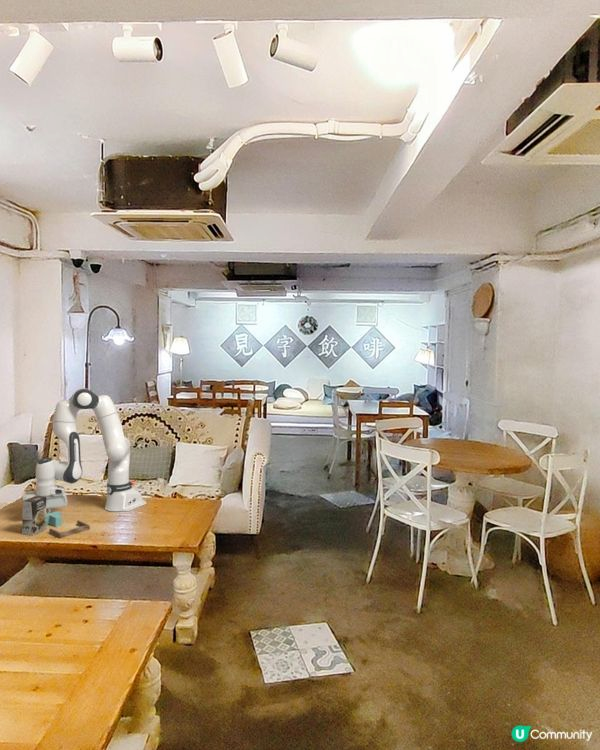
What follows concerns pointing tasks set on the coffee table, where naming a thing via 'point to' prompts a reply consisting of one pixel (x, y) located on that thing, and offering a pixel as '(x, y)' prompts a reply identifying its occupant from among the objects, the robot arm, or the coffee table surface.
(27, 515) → the coffee box
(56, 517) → the t block
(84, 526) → the dark u-shaped bracket
